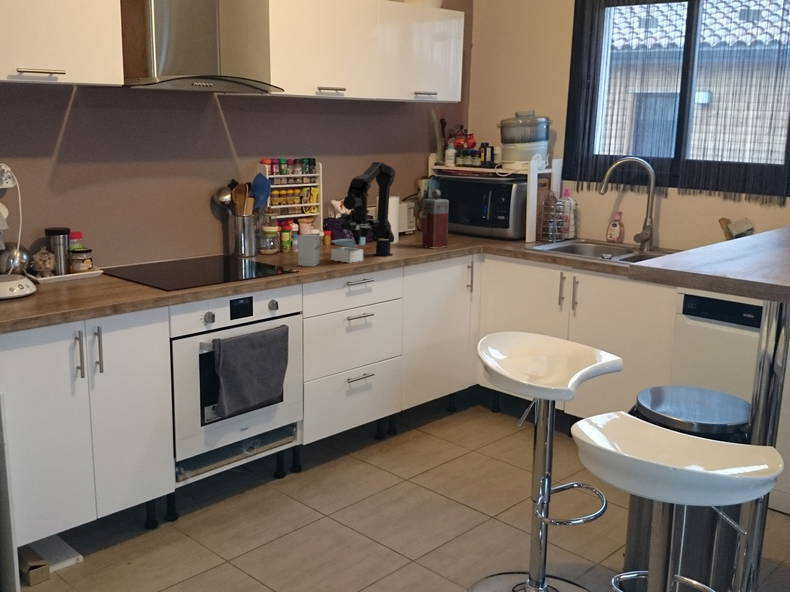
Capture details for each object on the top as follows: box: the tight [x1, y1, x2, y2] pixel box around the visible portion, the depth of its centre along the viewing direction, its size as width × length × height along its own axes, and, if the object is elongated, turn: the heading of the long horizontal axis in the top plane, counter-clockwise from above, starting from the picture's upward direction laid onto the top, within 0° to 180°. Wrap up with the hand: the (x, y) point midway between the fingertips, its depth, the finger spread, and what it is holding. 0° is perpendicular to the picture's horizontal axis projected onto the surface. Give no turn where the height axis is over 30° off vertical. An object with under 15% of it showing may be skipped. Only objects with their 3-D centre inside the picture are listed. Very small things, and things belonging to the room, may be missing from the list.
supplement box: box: [297, 233, 320, 267], centre depth 334 cm, size 7×7×13 cm
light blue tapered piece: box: [330, 236, 366, 248], centre depth 344 cm, size 14×9×4 cm, turn 50°
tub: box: [330, 246, 364, 264], centre depth 347 cm, size 11×9×5 cm
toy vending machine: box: [420, 189, 450, 247], centre depth 387 cm, size 9×11×28 cm
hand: (359, 244), depth 341 cm, fingers closed on light blue tapered piece, 3 cm apart
